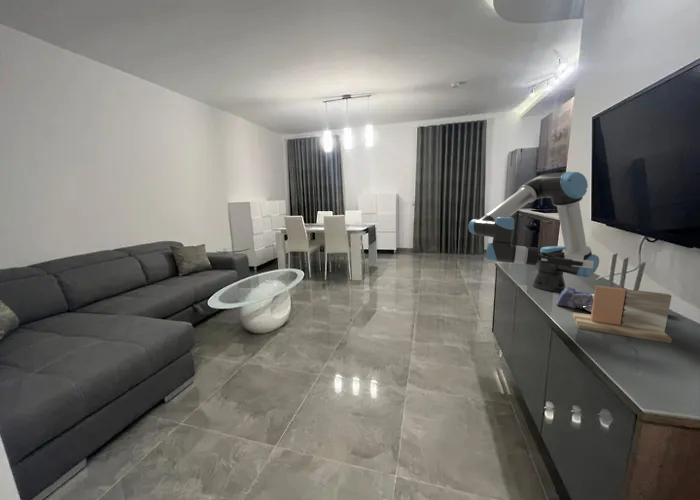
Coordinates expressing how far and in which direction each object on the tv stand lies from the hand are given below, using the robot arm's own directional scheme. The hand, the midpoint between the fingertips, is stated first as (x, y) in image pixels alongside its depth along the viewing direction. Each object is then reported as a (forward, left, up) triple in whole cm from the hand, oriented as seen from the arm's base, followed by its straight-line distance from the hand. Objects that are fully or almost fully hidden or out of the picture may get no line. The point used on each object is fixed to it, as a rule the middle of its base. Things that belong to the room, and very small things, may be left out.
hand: (587, 261), depth 117 cm
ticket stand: (+1, +11, -25) cm, 27 cm away
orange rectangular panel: (+1, +8, -23) cm, 24 cm away
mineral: (-19, +1, -25) cm, 32 cm away
